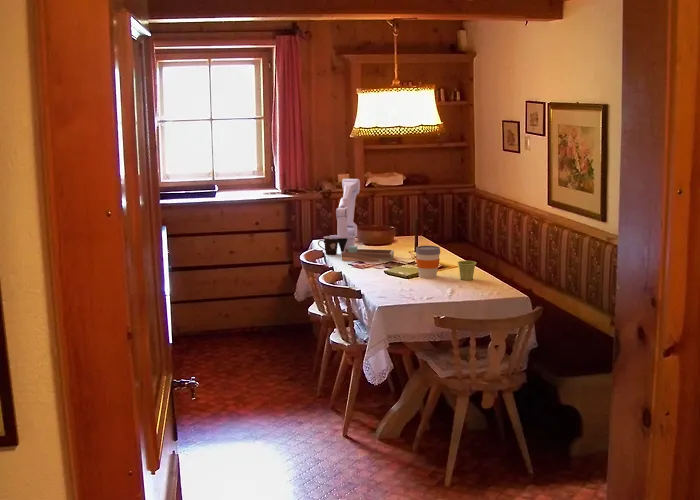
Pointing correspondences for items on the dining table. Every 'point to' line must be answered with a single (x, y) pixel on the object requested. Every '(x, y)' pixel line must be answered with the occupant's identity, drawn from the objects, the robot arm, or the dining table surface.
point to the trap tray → (368, 255)
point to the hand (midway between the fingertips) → (342, 251)
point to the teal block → (352, 249)
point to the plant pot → (466, 269)
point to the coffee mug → (330, 245)
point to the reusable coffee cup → (427, 261)
